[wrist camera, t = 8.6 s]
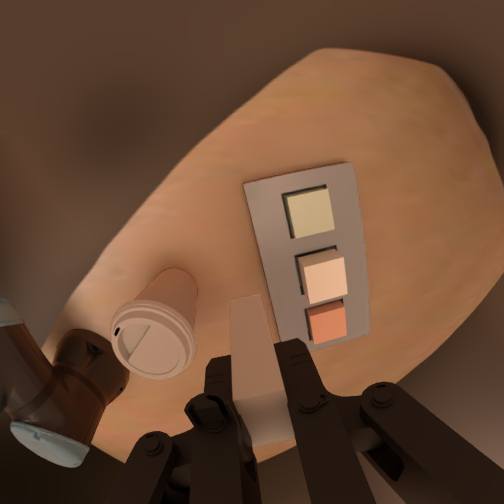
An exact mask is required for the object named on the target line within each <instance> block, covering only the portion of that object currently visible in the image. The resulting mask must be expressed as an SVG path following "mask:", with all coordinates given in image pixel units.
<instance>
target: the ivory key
mask: <svg viewBox="0 0 504 504" xmlns="http://www.w3.org/2000/svg"><path fill="white" fill-rule="evenodd" d="M298 262H299V268H300V273H301V278H302V284H303V289H304V293H305V295H306V297H307V299H308V301H309V303H310V304H313V303H317V302H321V301H324V300H328V299H331V298H335V297H338V296H342V295H345V294H348V292H347V282H346V273H345V264H344V257H343V256H342V255H341V254H340V253H339V252H337V251H336V250H335V249H331V250H327V251H323V252H319V253H315V254H311V255H307V256H303V257H299V258H298Z"/></svg>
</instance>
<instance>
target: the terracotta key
mask: <svg viewBox="0 0 504 504" xmlns="http://www.w3.org/2000/svg"><path fill="white" fill-rule="evenodd" d="M305 311H306V317H307V323H308V329H309V333H310V336H311V338H312V340H313V343H314V345H315V344H319V343H322V342H326V341H329V340H333V339H336V338H339V337H343V336H346V335H347V331H346V318H345V307H344V305H343V304H342V302H341V301H340V300H339V299H338V300H334V301H331V302H327V303H324V304H320V305H316V306H313V307H309V308H305Z"/></svg>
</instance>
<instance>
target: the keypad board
mask: <svg viewBox="0 0 504 504" xmlns="http://www.w3.org/2000/svg"><path fill="white" fill-rule="evenodd" d="M243 186H244V190H245V194H246V198H247V202H248V206H249V210H250V214H251V218H252V222H253V226H254V231H255V235H256V239H257V243H258V247H259V251H260V255H261V259H262V264H263V268H264V272H265V276H266V280H267V284H268V288H269V293H270V297H271V301H272V305H273V309H274V314H275V318H276V322H277V326H278V331H279V335H280V339H281V342H283V341H287V340H291V339H294V338H299V339H300V340H301V341H303V342H304V343H306V345H307V348H308V350H309V352H311V351H314V350H318V349H322V348H325V347H329V346H332V345H335V344H339V343H342V342H345V341H348V340H351V339H355V338H358V337H361V336H364V335H367V334H370V307H369V287H368V272H367V260H366V249H365V240H364V231H363V223H362V216H361V209H360V202H359V195H358V189H357V183H356V178H355V172H354V167H353V162H342V163H336V164H330V165H325V166H320V167H314V168H309V169H304V170H299V171H294V172H290V173H285V174H280V175H276V176H271V177H267V178H262V179H258V180H254V181H250V182H246V183H243ZM315 187H323V188H327V189H328V192H329V197H330V203H331V208H332V214H333V220H334V226H335V229H334V230H330V231H326V232H322V233H317V234H313V235H309V236H305V237H301V238H297V239H296V238H295V237H294V236H293V235H292V233H291V232H290V228H289V223H288V218H287V213H286V209H285V204H284V200H283V194H288V193H292V192H297V191H301V190H306V189H311V188H315ZM331 249H335V250H336V251H337V252H339V253H340V254H341V255H342V256H343V257H344V264H345V273H346V282H347V292H348V294H345V295H342V296H338V297H335V298H331V299H328V300H324V301H321V302H317V303H313V304H310V303H309V301H308V299H307V297H306V295H305V293H304V289H303V284H302V278H301V273H300V268H299V262H298V258H299V257H303V256H307V255H311V254H315V253H319V252H323V251H327V250H331ZM338 299H339V300H340V301H341V302H342V304H343V305H344V307H345V318H346V331H347V335H346V336H343V337H339V338H336V339H333V340H329V341H326V342H322V343H319V344H315V345H314V343H313V340H312V338H311V336H310V333H309V329H308V323H307V317H306V311H305V308H309V307H313V306H316V305H320V304H324V303H327V302H331V301H334V300H338Z"/></svg>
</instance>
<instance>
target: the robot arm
mask: <svg viewBox="0 0 504 504" xmlns="http://www.w3.org/2000/svg"><path fill="white" fill-rule="evenodd" d="M230 329H231V355H227V356H222V357H217V358H212V359H211V360H210V362H209V363H208V365H207V367H206V373H205V386H204V393H202V394H199V395H197V396H195V397H194V398H192V399H191V400H190V401H189V402H188V403H187V404H186V407H185V409H184V411H185V413H186V415H187V416H188V418H189V419H190V421H191V422H192V424H193V426H194V427H193V428H192V429H190V430H188V431H186V432H184V433H181V434H178V435H175V436H172V437H170V436H169V435H168V434H167V433H164V432H161V431H153V432H150V433H146V434H145V435H143V436H142V437H140V439H139V440H138V441H137V442H136V444H135V446H134V448H133V450H132V451H131V453H130V455H129V457H128V459H127V461H126V463H125V465H124V467H123V468H122V471H121V472H120V474H119V476H118V478H117V480H116V482H115V484H114V486H113V488H112V489H111V491H110V493H109V495H108V497H107V499H106V501H105V503H104V504H262V499H261V491H260V484H259V476H258V469H257V460H256V457H255V455H254V453H253V448H252V443H253V445H254V447H255V446H260V445H266V444H271V443H275V442H280V441H284V440H289V439H293V438H295V439H296V443H297V447H298V451H299V455H300V459H301V463H302V467H303V471H304V475H305V479H306V483H307V488H308V491H309V495H310V500H311V503H312V504H376V502H375V499H374V497H373V494H372V492H371V489H370V487H369V484H368V482H367V479H366V477H365V474H364V472H363V470H362V467H361V465H360V462H359V460H358V457H357V455H356V453H355V452H361V453H362V455H363V456H364V457H365V458H366V459H367V460H368V462H369V463H370V464H371V465H372V466H373V467H374V468H375V470H376V471H377V472H378V473H379V474H380V475H381V476H382V477H383V479H384V480H385V481H386V482H387V483H388V484H389V485H390V486H391V488H392V489H393V490H394V491H395V492H396V493H397V494H398V495H399V496H400V497H401V498H402V499H403V501H404V502H405V503H406V504H504V470H503V469H502V468H501V467H499V466H498V465H497V464H495V463H494V462H493V461H492V460H490V459H489V458H488V457H487V456H485V455H484V454H483V453H481V452H480V451H479V450H478V449H477V448H475V447H474V446H473V445H471V444H470V443H469V442H468V441H466V440H465V439H464V438H463V437H461V436H460V435H459V434H458V433H456V432H455V431H454V430H453V429H451V428H450V427H449V426H448V425H446V424H445V423H444V422H443V421H441V420H440V419H439V418H438V417H436V416H435V415H434V414H432V413H431V412H430V411H429V410H428V409H426V408H425V407H424V406H423V405H421V404H420V403H419V402H418V401H417V400H415V399H414V398H413V397H412V396H410V395H409V394H408V393H407V392H406V391H404V390H403V389H402V388H401V387H399V386H398V385H396V384H394V383H390V382H379V383H375V384H373V385H370V386H369V387H368V388H366V389H365V390H364V391H363V393H362V395H360V396H349V397H341V396H337V395H334V394H332V393H330V392H329V391H327V390H326V389H325V387H324V385H323V383H322V381H321V378H320V376H319V374H318V371H317V369H316V366H315V364H314V362H313V360H312V357H311V355H310V353H309V350H308V348H307V345H306V343H304V342H303V341H301V340H300V339H299V338H294V339H291V340H287V341H283V342H279V343H275V344H273V341H272V337H271V334H270V330H269V326H268V322H267V318H266V314H265V310H264V306H263V302H262V298H261V294H260V293H257V294H253V295H249V296H245V297H241V298H237V299H233V300H230ZM128 380H129V370H128V369H127V368H126V367H125V366H124V365H123V364H122V363H121V362H120V361H119V359H118V358H117V356H116V355H115V353H114V350H113V347H112V344H111V343H109V342H108V341H107V340H106V339H104V338H103V337H101V336H99V335H97V334H95V333H93V332H90V331H87V330H82V329H75V330H71V331H69V332H67V333H66V334H65V335H64V336H63V337H62V339H61V340H60V341H59V343H58V345H57V350H56V353H55V356H54V360H53V363H52V365H51V363H50V362H49V361H48V359H47V358H46V356H45V355H44V354H43V352H42V351H41V349H40V348H39V346H38V345H37V343H36V342H35V340H34V339H33V337H32V335H31V334H30V332H29V330H28V329H27V327H26V325H25V324H24V320H22V319H21V317H20V316H19V314H18V313H17V311H16V309H15V308H14V306H13V304H12V303H11V302H10V301H9V300H8V299H6V298H0V413H1V412H2V411H3V410H4V409H5V411H6V412H7V413H8V414H9V415H10V416H11V417H12V419H13V421H12V422H11V427H10V429H11V431H12V433H13V434H14V436H15V437H16V438H17V439H18V440H19V441H20V442H21V443H22V444H24V445H25V446H26V447H27V448H29V449H30V450H32V451H33V452H35V453H36V454H38V455H39V456H41V457H43V458H45V459H47V460H49V461H51V462H53V463H56V464H59V465H62V466H66V467H77V466H79V465H80V464H81V463H82V461H83V459H84V457H85V455H86V453H87V452H88V451H89V446H90V444H91V441H92V439H93V436H94V434H95V431H96V429H97V427H98V424H99V422H100V420H101V417H102V415H103V412H104V410H105V408H106V406H108V405H109V404H110V403H111V402H112V401H113V400H114V399H116V398H117V397H118V396H119V395H120V394H121V393H122V392H123V391H124V389H125V387H126V385H127V382H128Z"/></svg>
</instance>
